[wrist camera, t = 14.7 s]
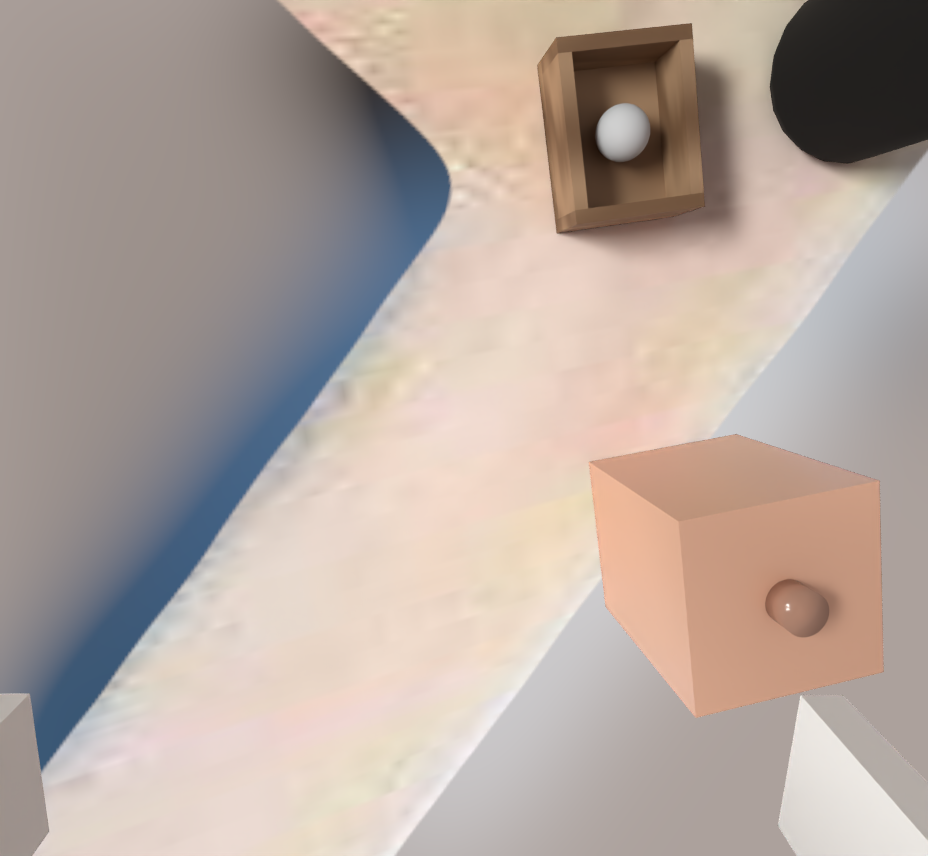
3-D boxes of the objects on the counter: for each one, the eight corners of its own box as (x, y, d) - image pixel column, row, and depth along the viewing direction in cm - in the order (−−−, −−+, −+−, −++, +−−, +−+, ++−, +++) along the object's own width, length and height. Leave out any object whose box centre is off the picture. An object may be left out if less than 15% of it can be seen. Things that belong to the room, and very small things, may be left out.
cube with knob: (589, 461, 44) (695, 532, 30) (736, 434, 45) (905, 489, 31) (605, 606, 46) (711, 737, 32) (745, 576, 47) (907, 688, 33)
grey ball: (585, 115, 39) (604, 98, 36) (634, 110, 39) (657, 92, 36) (590, 170, 40) (609, 158, 36) (639, 164, 40) (662, 151, 37)
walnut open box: (537, 65, 39) (556, 37, 35) (660, 52, 40) (691, 23, 36) (556, 233, 41) (576, 224, 37) (673, 216, 42) (704, 206, 38)
